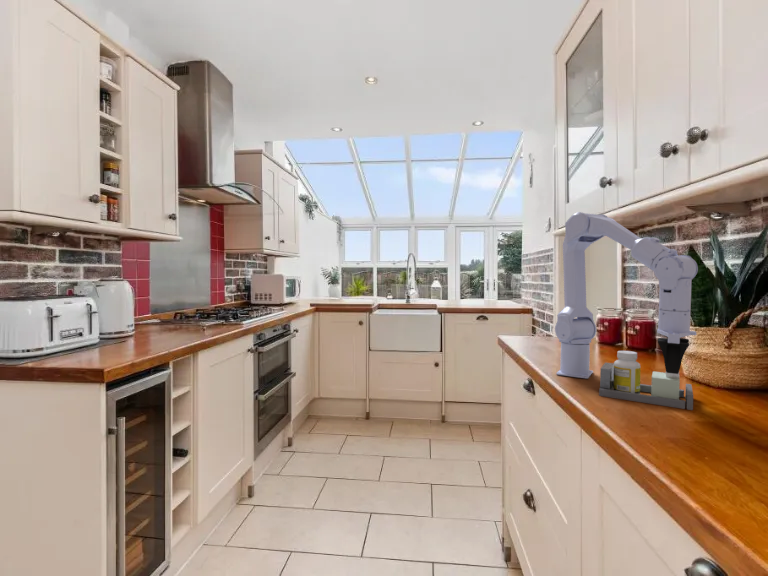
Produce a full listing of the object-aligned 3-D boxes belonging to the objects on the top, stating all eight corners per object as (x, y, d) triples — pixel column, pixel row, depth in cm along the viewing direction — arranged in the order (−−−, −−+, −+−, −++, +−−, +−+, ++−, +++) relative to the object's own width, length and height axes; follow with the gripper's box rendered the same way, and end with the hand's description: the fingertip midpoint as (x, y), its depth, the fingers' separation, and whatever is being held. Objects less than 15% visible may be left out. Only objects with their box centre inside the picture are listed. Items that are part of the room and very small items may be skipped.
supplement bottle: (632, 391, 100) (634, 350, 99) (644, 397, 94) (645, 354, 94) (609, 390, 100) (610, 349, 100) (619, 396, 95) (620, 354, 95)
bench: (605, 385, 105) (605, 361, 104) (690, 397, 95) (691, 371, 95) (598, 395, 96) (599, 369, 95) (692, 410, 86) (693, 381, 86)
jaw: (652, 392, 97) (653, 352, 97) (678, 396, 95) (679, 354, 94) (650, 399, 92) (652, 356, 91) (678, 404, 89) (680, 359, 88)
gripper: (698, 314, 83) (696, 381, 84) (695, 309, 95) (693, 368, 96) (656, 311, 87) (654, 376, 88) (658, 307, 99) (656, 364, 100)
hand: (672, 371), depth 92 cm, fingers closed on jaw, 2 cm apart
